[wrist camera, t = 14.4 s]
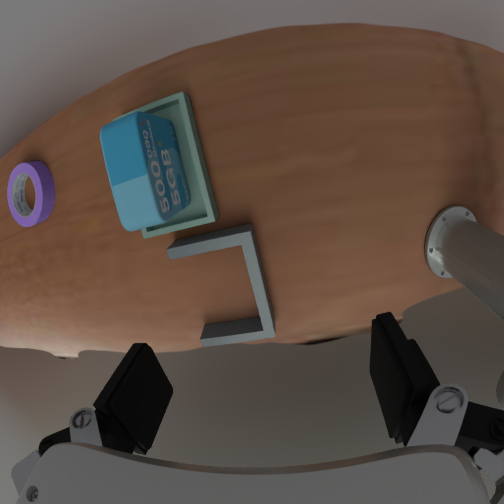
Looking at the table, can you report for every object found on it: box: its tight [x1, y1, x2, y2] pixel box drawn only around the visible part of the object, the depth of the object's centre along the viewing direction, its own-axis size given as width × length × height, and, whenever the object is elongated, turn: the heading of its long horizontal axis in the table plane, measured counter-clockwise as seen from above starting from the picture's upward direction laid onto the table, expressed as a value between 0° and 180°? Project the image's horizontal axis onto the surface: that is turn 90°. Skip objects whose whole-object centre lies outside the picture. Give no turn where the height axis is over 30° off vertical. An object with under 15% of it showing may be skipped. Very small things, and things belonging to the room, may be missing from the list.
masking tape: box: [7, 161, 55, 227], centre depth 35 cm, size 12×12×4 cm
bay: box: [166, 223, 276, 346], centre depth 39 cm, size 12×16×4 cm
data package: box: [100, 111, 191, 231], centre depth 29 cm, size 12×4×12 cm, turn 12°
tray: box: [113, 91, 219, 239], centre depth 34 cm, size 11×18×3 cm, turn 13°
